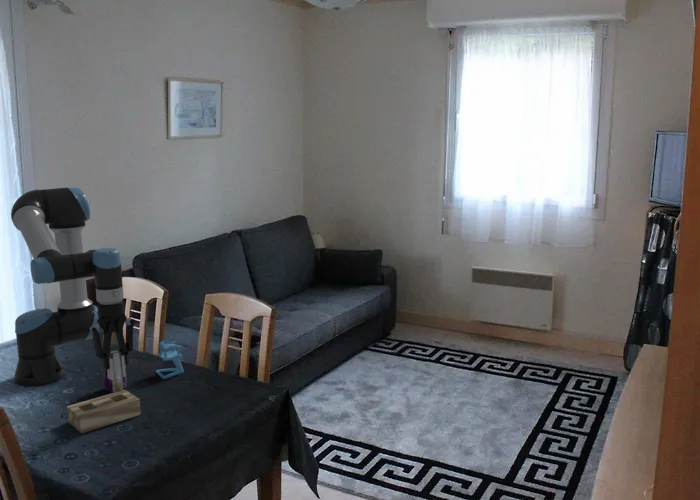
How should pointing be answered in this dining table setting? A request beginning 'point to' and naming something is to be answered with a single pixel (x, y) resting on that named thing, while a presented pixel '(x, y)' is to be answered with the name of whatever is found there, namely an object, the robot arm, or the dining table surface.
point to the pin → (117, 371)
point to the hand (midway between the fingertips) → (116, 376)
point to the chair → (170, 358)
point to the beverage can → (109, 382)
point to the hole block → (103, 411)
